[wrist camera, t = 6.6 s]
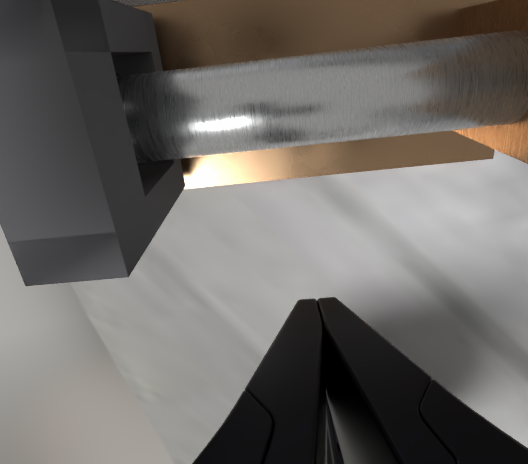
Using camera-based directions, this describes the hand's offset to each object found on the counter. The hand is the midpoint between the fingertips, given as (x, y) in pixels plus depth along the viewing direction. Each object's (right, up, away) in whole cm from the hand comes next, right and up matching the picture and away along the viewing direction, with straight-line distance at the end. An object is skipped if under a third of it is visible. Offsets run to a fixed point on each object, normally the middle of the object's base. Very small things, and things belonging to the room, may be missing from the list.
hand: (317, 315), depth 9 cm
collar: (-7, +7, +8) cm, 13 cm away
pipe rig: (-2, +8, +10) cm, 13 cm away
